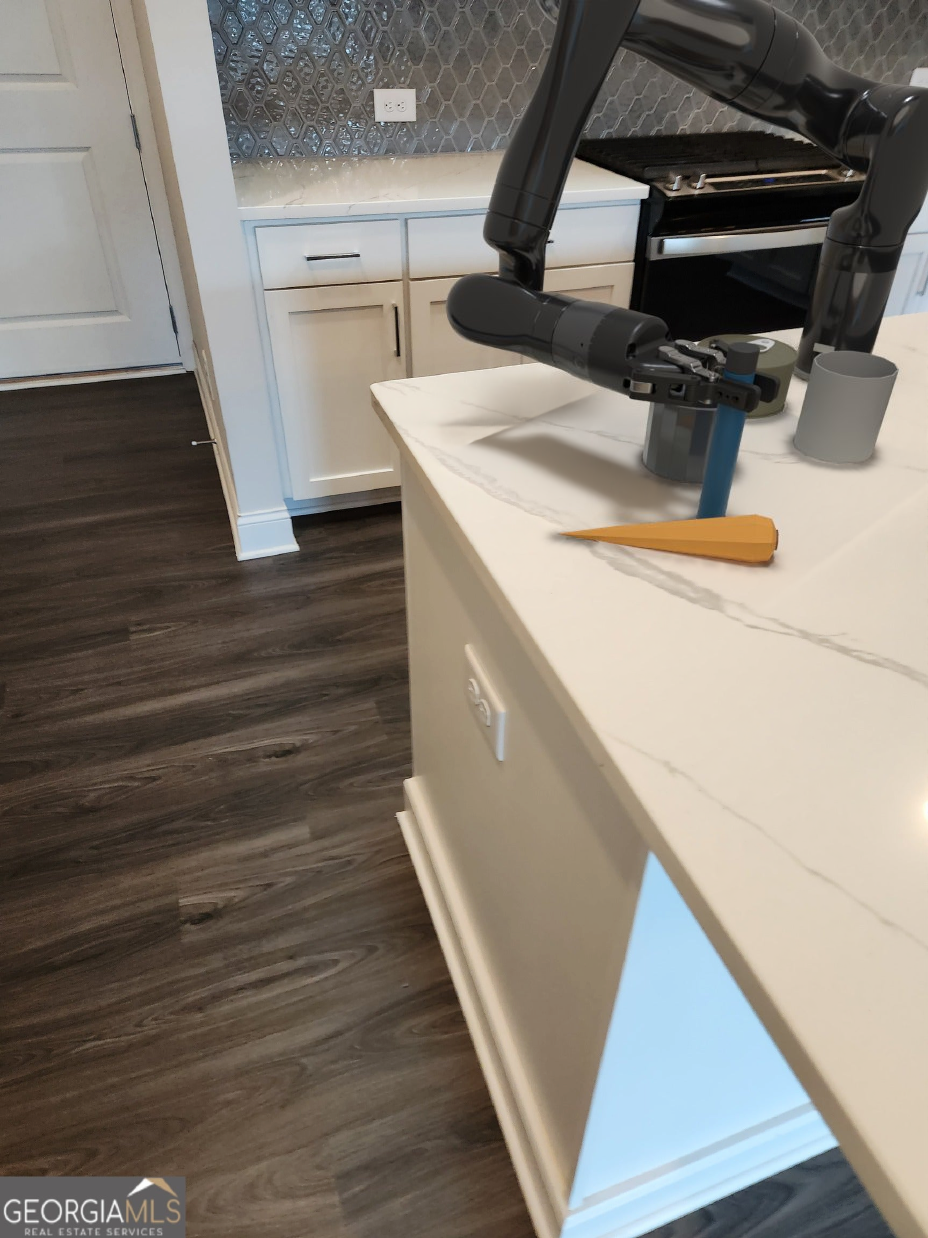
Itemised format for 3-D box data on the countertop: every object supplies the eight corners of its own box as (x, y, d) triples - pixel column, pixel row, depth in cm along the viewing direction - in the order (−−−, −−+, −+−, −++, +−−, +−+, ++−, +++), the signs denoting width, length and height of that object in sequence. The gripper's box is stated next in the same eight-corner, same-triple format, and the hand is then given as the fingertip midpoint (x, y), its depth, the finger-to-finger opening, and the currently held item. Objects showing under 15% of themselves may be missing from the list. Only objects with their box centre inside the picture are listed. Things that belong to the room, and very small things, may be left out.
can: (668, 403, 105) (676, 349, 101) (720, 378, 112) (730, 327, 107) (753, 431, 98) (765, 375, 94) (803, 403, 105) (816, 349, 100)
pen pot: (676, 438, 97) (687, 367, 91) (751, 466, 91) (768, 392, 86) (623, 464, 91) (632, 390, 86) (699, 496, 85) (714, 418, 80)
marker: (705, 515, 82) (739, 339, 72) (727, 525, 81) (766, 346, 70) (690, 524, 81) (722, 346, 70) (712, 534, 79) (749, 354, 69)
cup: (876, 470, 90) (905, 381, 84) (797, 464, 91) (820, 375, 85) (863, 437, 96) (888, 352, 90) (789, 432, 98) (810, 348, 92)
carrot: (772, 560, 77) (776, 512, 76) (777, 569, 73) (781, 517, 72) (559, 553, 82) (560, 507, 81) (552, 560, 78) (553, 512, 76)
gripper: (564, 323, 75) (729, 373, 65) (657, 293, 82) (819, 333, 72) (559, 402, 79) (713, 460, 69) (648, 367, 87) (798, 415, 77)
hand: (766, 395), depth 71 cm, fingers closed on marker, 2 cm apart
